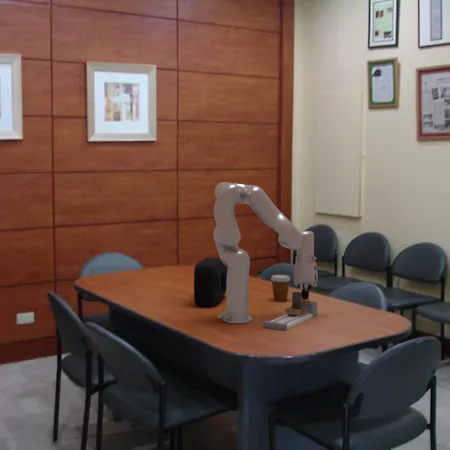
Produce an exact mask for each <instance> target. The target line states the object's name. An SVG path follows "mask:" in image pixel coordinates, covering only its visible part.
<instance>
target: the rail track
mask: <svg viewBox="0 0 450 450" xmlns="http://www.w3.org/2000/svg"><path fill="white" fill-rule="evenodd" d="M301 307H308V312H306V313H304V314H302V315H300V316H299V315H292V314H283V315H281V316H278V317H276V318H274V319H272V320H270V321H269V320H264V321H263V323H262V324H263V327H262V328H264V329H270V330H275V331H276V330H278V331H284V332H285V331H287V330H290V329H292V328H293V327H295V326H298V325H299V324H301V323H303V322H306V321H308V320H309V319H312V318H314V317H317V316H318V301H314V300H313V301H312V300H310V301H309V302H301Z"/></svg>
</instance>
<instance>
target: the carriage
mask: <svg viewBox="0 0 450 450" xmlns="http://www.w3.org/2000/svg"><path fill="white" fill-rule="evenodd" d="M301 298H302V297H301V292H300V291H294V292H292V293H291V306H289V307H287V308H285V309H284V311H285V314H292V315H299V316H300V315H302V314H304V313H306V312H308V307H301ZM285 314H284V315H285Z"/></svg>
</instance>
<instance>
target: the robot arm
mask: <svg viewBox="0 0 450 450" xmlns="http://www.w3.org/2000/svg"><path fill="white" fill-rule="evenodd" d="M214 196H215V197H216V200H215V203H214V206H213V217H214V220H215V223H216V226H215V228H214V230H213V240H214V242H215V243H214V244H215V247H216V250H217V253H218V256H219V258H220V259H221V261H222V263H223V264H224V265H225V266H226V267H227V270H228V271H227V280H226V285H227V290H226V309H225V310H224V312H223V313H219V314H217V318H218V319H219V320H221V319H222V321H224V323H225V322H226V323H229V324H247V323H251V322H252V321H253V317H252V316H251V315H249V274H250V272H249V271H250V266H251V259H250V256H249V253H248V252H247V251H246V250H245V249H243V248H240V247H239V244H240V241H241V238H242V236H241V232H240V229H239V226H238V223H237V219H236V215H235V206H236V204H245V205H246V204H247V205H249V206H250V208H252V211H254V212H255V214H256V215H257V216H258V217H259V219H260V220H261V221H262V222H263V223H264V224H265V225H266V226H267V227H269V228H271V229H272V230H273V231H275V232H276V234H278V239H277V240H278V243H279V244H280V246H281V247H283V248H286V249H289V250H292V251H296V261H295V264H294V269H293V285H294V286H296V287H298V288H299V289H300V291H301V298H302V299H303V300H306V299H310V290H311V289H312V288H316V287H318V286H317V284H318V275H319V274H318V268H317V262H316V261H317V256H315V233H314V232H313V231H312V230H300V231H299V230H298V229H297V227H296V226H295V225H294V224H293V223H292V222H291V220H289V219H288V218H287V217H286V216H285V214H283V213H282V212H281V211H280V210H279V209H278V208H277V206H276V205H275V204H274V203H273V201H272V200H271V199H270V198H269V196H268V195H267V194H266V192H265V191H264V190H263V189H262V188H261V187H260V186H259V185H253V184H243V183H242V184H241V183H234V182H226V181H222V182H219V183H218V184H217V185H216V186H215V187H214Z"/></svg>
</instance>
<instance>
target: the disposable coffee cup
mask: <svg viewBox="0 0 450 450" xmlns="http://www.w3.org/2000/svg"><path fill="white" fill-rule="evenodd" d="M270 281H271V284H272V295H273V301H275V302H278V303H279V302H281V303H282V302H286V301H288V295H289V286H290V281H291V277H290V276H289V275H287V274H273V275H271V278H270Z"/></svg>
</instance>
